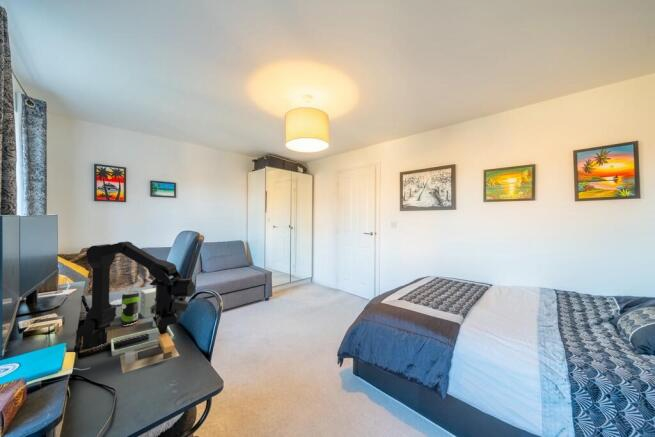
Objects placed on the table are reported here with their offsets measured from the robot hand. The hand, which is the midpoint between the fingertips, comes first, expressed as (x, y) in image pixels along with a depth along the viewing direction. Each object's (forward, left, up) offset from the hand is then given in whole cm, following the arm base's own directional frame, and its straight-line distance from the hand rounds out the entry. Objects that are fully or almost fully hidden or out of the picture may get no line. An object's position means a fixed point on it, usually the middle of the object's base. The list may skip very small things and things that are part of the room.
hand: (162, 335), depth 95 cm
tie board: (-5, -5, -5) cm, 8 cm away
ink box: (+3, +27, -5) cm, 28 cm away
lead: (-5, -5, -4) cm, 8 cm away
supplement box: (+1, +42, -5) cm, 42 cm away
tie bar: (0, -7, -1) cm, 7 cm away
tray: (-5, +9, -5) cm, 11 cm away
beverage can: (-8, +34, -5) cm, 35 cm away
